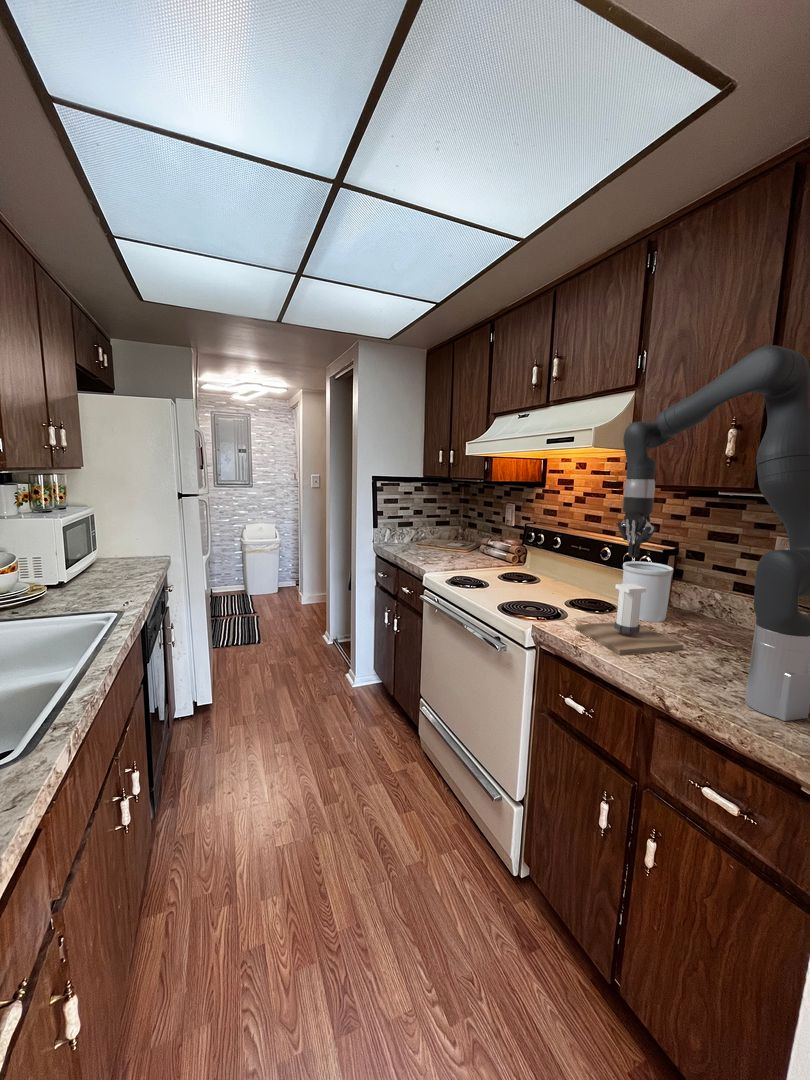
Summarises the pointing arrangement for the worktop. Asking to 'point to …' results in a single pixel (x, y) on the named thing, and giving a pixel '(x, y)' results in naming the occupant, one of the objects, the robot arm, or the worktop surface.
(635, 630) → the o ring
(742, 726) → the worktop surface
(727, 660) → the worktop surface
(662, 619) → the utensil holder
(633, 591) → the sleeve
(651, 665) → the worktop surface
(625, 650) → the pipe stand
